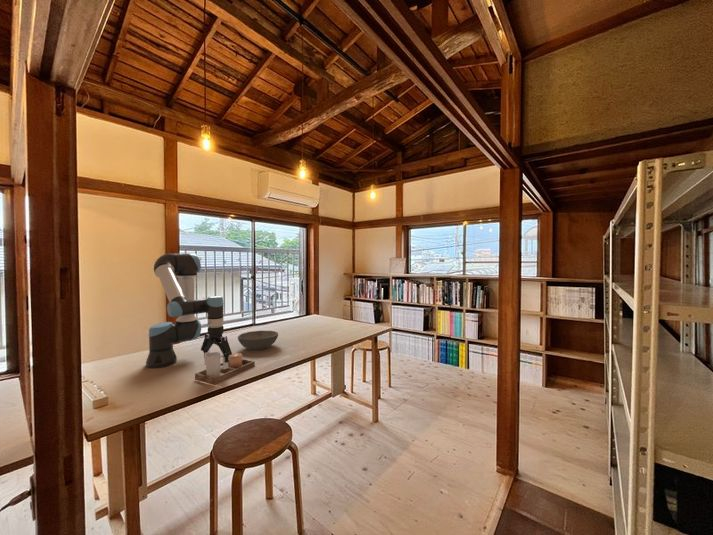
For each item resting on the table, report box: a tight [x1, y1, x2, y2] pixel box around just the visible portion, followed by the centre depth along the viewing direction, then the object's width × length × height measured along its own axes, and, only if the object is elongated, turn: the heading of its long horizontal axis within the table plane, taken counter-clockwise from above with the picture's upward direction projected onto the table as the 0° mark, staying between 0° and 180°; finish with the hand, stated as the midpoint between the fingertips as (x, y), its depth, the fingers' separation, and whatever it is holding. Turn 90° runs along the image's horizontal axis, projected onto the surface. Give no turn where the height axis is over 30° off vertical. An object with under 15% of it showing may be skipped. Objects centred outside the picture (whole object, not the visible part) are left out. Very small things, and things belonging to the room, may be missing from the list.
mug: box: [205, 351, 224, 378], centre depth 153 cm, size 10×7×12 cm, turn 135°
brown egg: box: [229, 352, 243, 369], centre depth 165 cm, size 7×7×7 cm
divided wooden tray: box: [194, 358, 256, 386], centre depth 159 cm, size 15×26×3 cm, turn 155°
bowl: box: [237, 330, 279, 351], centre depth 201 cm, size 26×26×10 cm
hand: (216, 366), depth 153 cm, fingers open, 13 cm apart
